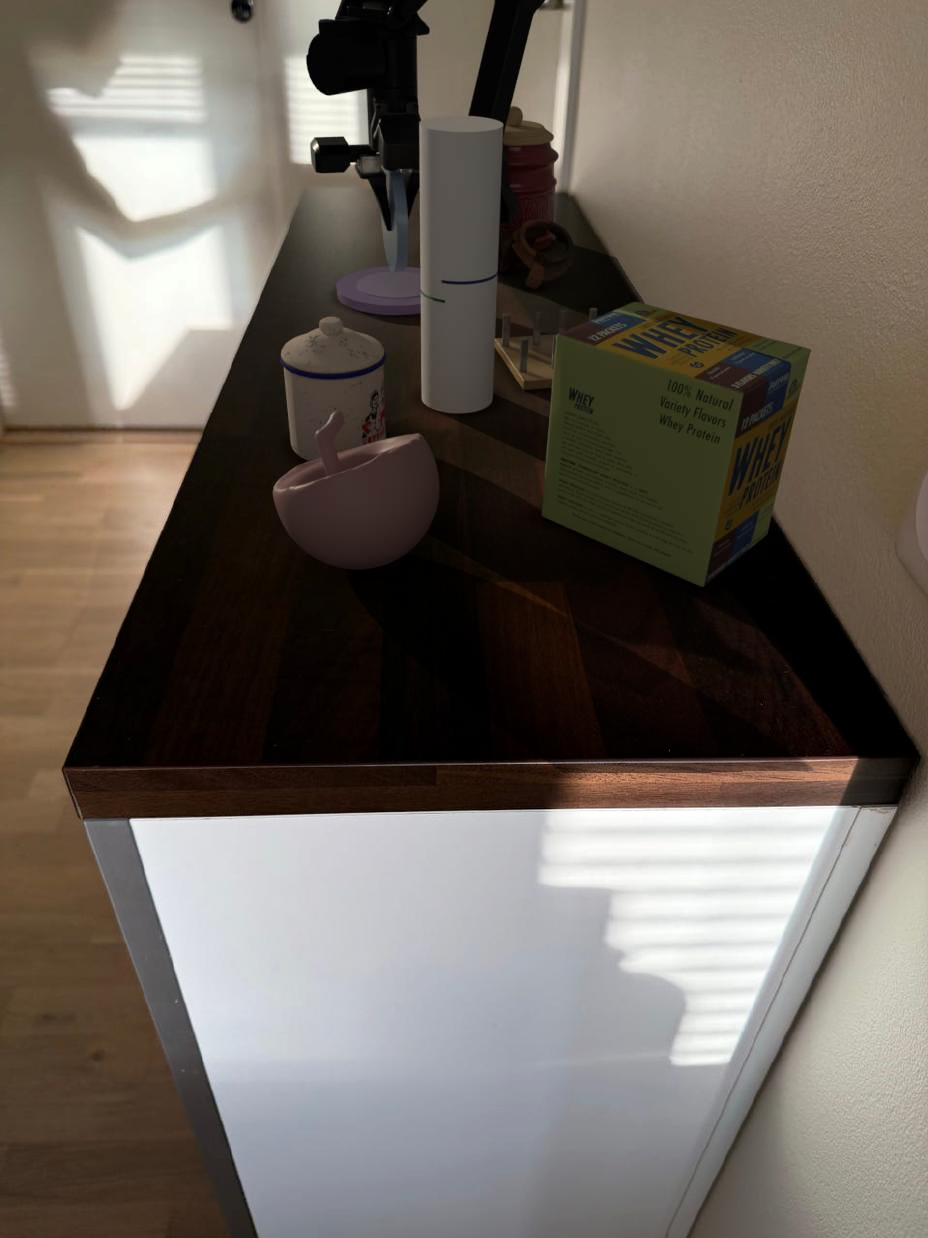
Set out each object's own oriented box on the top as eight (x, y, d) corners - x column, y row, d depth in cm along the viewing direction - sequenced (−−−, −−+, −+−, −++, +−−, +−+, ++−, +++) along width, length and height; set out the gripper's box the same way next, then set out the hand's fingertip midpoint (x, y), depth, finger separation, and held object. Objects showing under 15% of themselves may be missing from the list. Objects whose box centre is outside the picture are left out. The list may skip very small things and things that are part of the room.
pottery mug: (559, 268, 134) (581, 221, 127) (555, 320, 130) (578, 275, 123) (475, 244, 132) (492, 195, 125) (468, 296, 127) (486, 249, 120)
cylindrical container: (485, 416, 95) (495, 134, 80) (414, 409, 96) (410, 128, 81) (498, 387, 101) (509, 118, 86) (430, 380, 102) (429, 113, 87)
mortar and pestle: (359, 500, 82) (352, 369, 75) (471, 551, 76) (474, 414, 69) (248, 560, 74) (229, 421, 67) (362, 622, 68) (354, 476, 61)
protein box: (705, 590, 72) (745, 392, 63) (538, 517, 80) (552, 332, 71) (770, 534, 79) (816, 347, 69) (610, 472, 86) (631, 296, 77)
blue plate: (377, 201, 125) (386, 143, 113) (388, 201, 125) (398, 143, 114) (390, 290, 124) (400, 240, 112) (401, 289, 124) (412, 239, 112)
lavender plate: (354, 271, 130) (354, 261, 129) (465, 279, 128) (466, 269, 127) (321, 309, 118) (321, 299, 117) (444, 319, 116) (444, 308, 115)
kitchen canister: (449, 234, 145) (450, 100, 134) (528, 226, 149) (535, 95, 138) (485, 259, 135) (489, 117, 125) (568, 250, 139) (579, 112, 129)
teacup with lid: (385, 469, 86) (381, 340, 79) (282, 467, 86) (268, 338, 79) (392, 410, 96) (389, 291, 89) (299, 409, 96) (289, 289, 89)
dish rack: (494, 346, 110) (495, 306, 107) (587, 340, 112) (591, 300, 109) (523, 390, 100) (525, 347, 98) (624, 382, 102) (629, 340, 100)
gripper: (315, 98, 101) (326, 253, 110) (491, 94, 105) (486, 245, 114) (305, 81, 110) (315, 226, 119) (467, 78, 113) (465, 219, 123)
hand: (395, 229), depth 118 cm, fingers closed on blue plate, 1 cm apart
